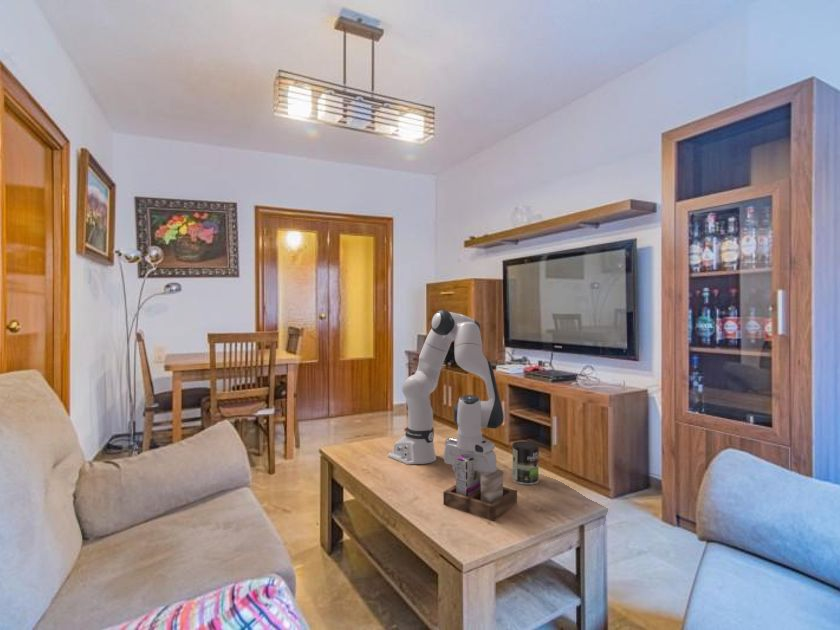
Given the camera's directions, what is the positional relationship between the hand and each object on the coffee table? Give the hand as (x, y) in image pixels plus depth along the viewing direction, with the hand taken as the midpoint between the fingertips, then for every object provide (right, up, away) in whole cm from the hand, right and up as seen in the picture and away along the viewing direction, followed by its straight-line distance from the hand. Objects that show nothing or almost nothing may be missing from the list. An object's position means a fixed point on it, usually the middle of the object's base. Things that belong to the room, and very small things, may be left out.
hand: (469, 480), depth 165 cm
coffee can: (+24, -7, +19) cm, 32 cm away
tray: (+4, -7, -3) cm, 8 cm away
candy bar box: (0, -7, 0) cm, 7 cm away
